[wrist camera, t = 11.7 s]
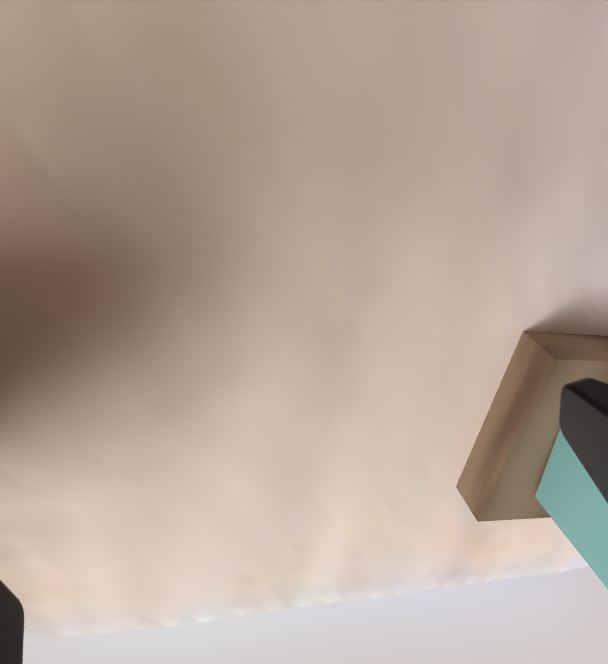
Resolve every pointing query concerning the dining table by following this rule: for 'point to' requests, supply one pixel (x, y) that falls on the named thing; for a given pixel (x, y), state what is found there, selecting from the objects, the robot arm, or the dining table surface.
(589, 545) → the pillar
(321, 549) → the dining table surface
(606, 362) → the slab
